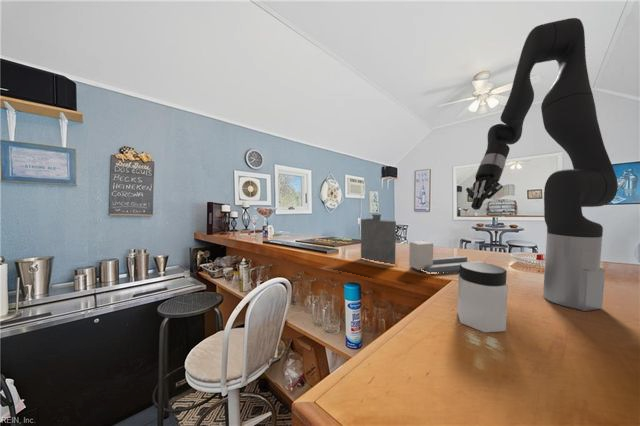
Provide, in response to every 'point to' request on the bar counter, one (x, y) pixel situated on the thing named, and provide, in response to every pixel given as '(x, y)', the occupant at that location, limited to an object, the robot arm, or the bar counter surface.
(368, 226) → the hip flask
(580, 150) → the robot arm
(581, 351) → the bar counter surface
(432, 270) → the chute
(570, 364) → the bar counter surface
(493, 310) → the jar
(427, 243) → the block
